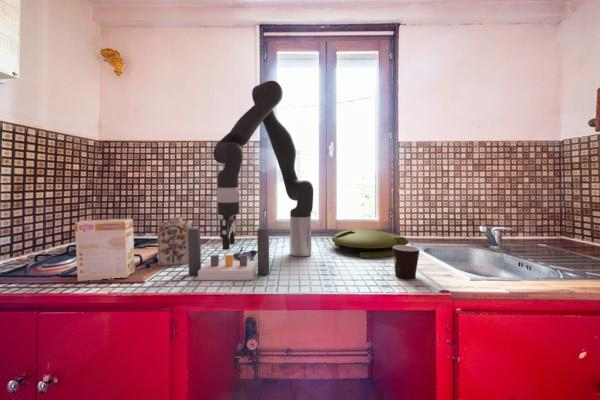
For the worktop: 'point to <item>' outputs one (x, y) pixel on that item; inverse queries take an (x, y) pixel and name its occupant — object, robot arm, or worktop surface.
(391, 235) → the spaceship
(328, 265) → the worktop surface
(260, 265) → the post
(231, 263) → the middle paddle
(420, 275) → the worktop surface
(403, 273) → the coffee mug
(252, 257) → the sunglasses
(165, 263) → the decorative jar
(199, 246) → the post
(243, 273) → the switch panel
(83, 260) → the coffeecake box
